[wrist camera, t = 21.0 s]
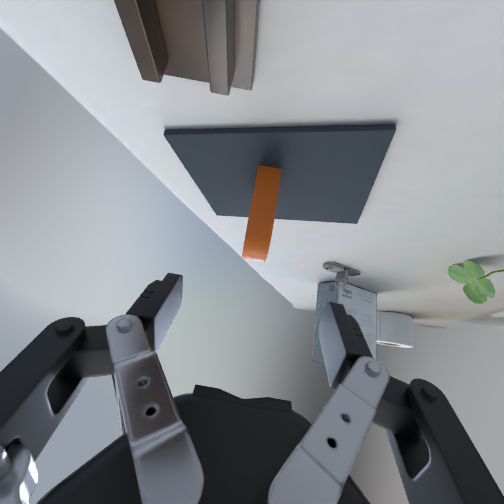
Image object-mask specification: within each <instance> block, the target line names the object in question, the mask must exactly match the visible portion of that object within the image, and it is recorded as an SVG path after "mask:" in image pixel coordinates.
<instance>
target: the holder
mask: <svg viewBox="0 0 504 504" xmlns="http://www.w3.org/2000/svg"><path fill="white" fill-rule="evenodd" d="M114 2H115V4H116V7H117V10H118V13H119V16H120V18H121V21H122V24H123V27H124V29H125V32H126V35H127V38H128V41H129V43H130V46H131V49H132V52H133V55H134V57H135V60H136V63H137V66H138V69H139V71H140V74H141V77H142V79H143V80H147V81H153V82H158V83H160V82H161V80H162V77H163V75H164V74H165V75H170V76H176V77H181V78H187V79H192V80H197V81H203V82H208V83H210V91H211V92H212V93H217V94H223V95H229V92H230V89H231V87H235V88H241V89H246V90H252V86H253V82H254V70H255V57H256V44H257V31H258V17H259V4H260V0H114Z"/></svg>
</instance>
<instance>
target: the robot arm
mask: <svg viewBox="0 0 504 504" xmlns="http://www.w3.org/2000/svg"><path fill="white" fill-rule="evenodd" d="M182 286H183V276H182V275H178V274H173V273H168V274H167V275H166V276H165V278H164V279H163V280H162V281H159V280H156V281H154V282H152V283H151V284H149V285H148V286H147V288H146V289H145V290H144V292H143V293H142V294H141V295H140V297H139V298H138V299H137V300H136V301H135V303H134V304H133V305H132V307H131V308H130V309H129V310H128V312H127V313H126V314H125V315H121V316H118V317H115V318H114V319H112V320H111V321H110V322H109V323H108V324H107V325H103V326H89V327H85V323H84V321H83V320H82V319H80V318H76V317H68V318H63V319H59V320H57V321H55V322H53V323H51V324H50V325H48V326H47V327H46V328H45V329H44V330H43V331H42V332H41V333H40V334H39V335H38V336H37V337H36V338H35V339H34V340H33V341H32V342H31V343H30V344H29V345H28V346H27V347H26V348H25V349H24V350H23V351H21V353H19V354H18V356H17V357H15V358H14V359H13V360H12V361H11V362H10V363H9V364H8V365H7V366H6V367H5V368H4V369H3V370H2V371H1V372H0V504H29V502H30V499H31V496H32V494H33V492H34V490H35V487H36V485H37V482H38V470H37V467H36V465H35V460H36V459H37V457H38V456H39V454H40V453H41V451H42V450H43V448H44V447H45V445H46V444H47V442H48V440H49V439H50V437H51V436H52V434H53V433H54V431H55V430H56V428H57V427H58V425H59V424H60V422H61V421H62V419H63V418H64V416H65V414H66V413H67V411H68V410H69V408H70V407H71V405H72V404H73V402H74V401H75V399H76V398H77V396H78V394H79V393H80V392H81V390H82V388H83V387H84V385H85V384H86V382H87V381H88V379H89V378H90V377H97V376H106V375H112V380H113V386H114V391H115V396H116V401H117V407H118V413H119V419H120V425H121V432H122V436H120V437H119V438H118V439H116V440H115V441H114V442H112V443H111V444H110V445H108V446H107V447H106V448H104V449H103V450H102V451H101V452H99V453H98V454H97V455H95V456H94V457H93V458H92V459H90V460H89V461H87V462H86V463H85V464H84V465H82V466H81V467H80V468H79V469H77V470H76V471H74V472H73V473H72V474H71V475H69V476H68V477H67V478H65V479H64V480H63V481H62V482H60V483H59V484H57V485H56V486H55V487H54V488H52V489H51V490H50V491H49V492H48V493H46V495H44V496H43V497H42V498H41V499H40V500H39V501H38V502H37V503H36V504H370V503H369V501H368V500H367V498H366V497H365V496H364V494H363V493H362V492H361V490H360V489H359V487H358V486H357V485H356V483H355V482H354V480H353V479H352V478H351V476H350V475H349V473H350V470H351V468H352V466H353V464H354V462H355V459H356V457H357V455H358V453H359V450H360V448H361V446H362V444H363V441H364V439H365V437H366V434H367V432H368V430H369V428H370V426H371V423H374V424H376V425H378V426H380V427H382V428H384V429H386V432H387V435H388V438H389V442H390V445H391V447H392V451H393V454H394V457H395V460H396V463H397V467H398V470H399V473H400V476H401V479H402V483H403V485H404V488H405V492H406V495H407V498H408V501H409V504H504V496H503V494H502V493H501V491H500V489H499V487H498V486H497V484H496V482H495V480H494V479H493V478H492V475H491V474H490V472H489V470H488V469H487V467H486V465H485V463H484V462H483V460H482V458H481V457H480V455H479V453H478V451H477V450H476V448H475V446H474V444H473V443H472V441H471V439H470V438H469V436H468V434H467V432H466V431H465V429H464V427H463V426H462V424H461V422H460V420H459V419H458V417H457V416H456V413H455V412H454V410H453V408H452V407H451V405H450V403H449V401H448V400H447V398H446V397H445V395H444V394H443V393H442V391H441V390H439V389H438V388H437V387H436V386H435V385H433V384H432V383H430V382H428V381H426V380H423V379H413V380H412V381H411V383H410V384H407V383H405V382H402V381H400V380H398V379H395V378H393V377H391V376H390V375H389V372H388V370H387V369H386V368H385V367H384V366H383V364H382V363H380V362H379V361H377V360H376V359H374V358H373V356H372V354H371V351H370V349H369V347H368V344H367V342H366V340H365V338H364V335H363V333H362V331H361V328H360V326H359V324H358V322H357V321H356V320H355V318H354V317H353V316H352V315H349V314H347V313H346V310H345V308H344V305H343V304H340V303H334V302H328V303H327V304H326V307H325V310H324V312H323V315H322V318H321V321H320V323H319V338H320V343H321V347H322V352H323V356H324V361H325V365H326V369H327V374H328V379H329V383H330V388H332V389H336V390H335V391H334V393H333V394H332V396H331V397H330V399H329V400H328V402H327V403H326V404H325V406H324V408H323V409H322V411H321V412H320V413H319V415H318V416H317V418H316V420H315V421H314V422H313V424H311V423H310V422H309V421H308V420H307V419H305V418H304V417H303V416H302V415H300V414H298V413H297V412H295V411H293V410H292V406H291V401H286V400H281V399H274V398H269V397H265V398H252V399H241V398H239V397H236V396H234V395H232V394H229V393H227V392H225V391H223V390H221V389H218V388H212V387H206V386H201V385H195V388H194V391H193V393H186V394H182V395H179V396H176V397H174V398H173V396H172V394H171V391H170V388H169V386H168V383H167V380H166V378H165V375H164V372H163V370H162V367H161V364H160V362H159V359H158V356H157V354H156V353H157V351H158V349H159V347H160V345H161V343H162V341H163V340H164V338H165V336H166V334H167V332H168V330H169V327H170V326H171V324H172V322H173V320H174V318H175V316H176V314H177V312H178V310H179V308H180V305H181V301H182Z"/></svg>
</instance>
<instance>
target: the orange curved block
mask: <svg viewBox="0 0 504 504" xmlns="http://www.w3.org/2000/svg"><path fill="white" fill-rule="evenodd" d="M281 172H282V169H280V168H274V167H269V166H263V165H259V166H258V171H257V176H256V182H255V187H254V192H253V197H252V203H251V208H250V213H249V219H248V224H247V230H246V235H245V241H244V248H243V254H242V258H246V259H252V260H257V261H263V262H265V260H266V258H267V254H268V250H269V245H270V241H271V235H272V230H273V224H274V217H275V211H276V204H277V198H278V191H279V185H280V178H281Z"/></svg>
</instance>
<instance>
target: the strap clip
mask: <svg viewBox="0 0 504 504" xmlns="http://www.w3.org/2000/svg"><path fill="white" fill-rule="evenodd" d="M323 268H324V269H325V270H328V271H331V272H337V275H336V279H335V287H337V288H344V287H345V286H346V284H347V279H348V275H349V276H355V275H360V272H358V271H356V270H353V269H350V268H346V269H344V266H342V265H340V264H337V263H327V264H324V265H323ZM354 273H355V274H354ZM343 281H344V284H343V285H338V286H337V283H338V282H343Z"/></svg>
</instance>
